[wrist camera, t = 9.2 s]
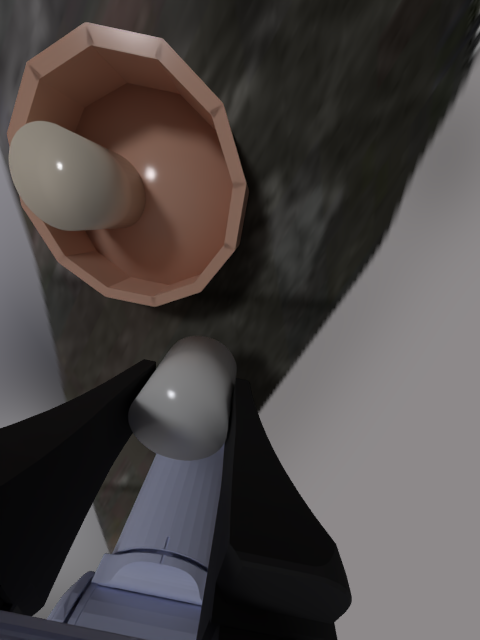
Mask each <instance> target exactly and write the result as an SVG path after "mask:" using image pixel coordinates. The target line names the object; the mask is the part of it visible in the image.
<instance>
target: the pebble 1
mask: <svg viewBox="0 0 480 640" xmlns="http://www.w3.org/2000/svg"><path fill="white" fill-rule="evenodd" d="M9 166H10V172H11V176H12V179H13V182H14V185H15V187H16V189H17V191H18V193H19V195H20V197H21V198H22V200H23V201H24V203H25V204H26V205H27V206H28V208H29V209H30V210H31V211H32V212H33V213H34V214H35V215H36V216H37V217H38V218H40V219H41V220H42V221H44V222H45V223H47V224H49V225H50V226H53V227H55V228H57V229H61V230H66V231H79V230H99V229H119V228H127V227H130V226H132V225H133V224H135V223H136V222H137V221H138V220H139V219H140V217H141V216H142V214H143V211H144V208H145V201H146V197H145V189H144V185H143V182H142V179H141V177H140V175H139V173H138V172H137V170H136V169H135V167H134V166H133V165H132V164H131V163H130V162H129V161H128V160H127V159H126V158H124V157H123V156H121V155H119V154H117V153H115V152H113V151H111V150H109V149H107V148H105V147H103V146H101V145H99V144H96V143H94V142H92V141H90V140H88V139H86V138H84V137H82V136H80V135H78V134H76V133H73V132H71V131H69V130H67V129H65V128H63V127H61V126H59V125H57V124H54V123H51V122H46V121H34V122H30V123H27V124H25V125H24V126H22V127H21V128H20V129H19V130H18V131H17V132H16V134H15V135H14V137H13V139H12V141H11V145H10V149H9Z"/></svg>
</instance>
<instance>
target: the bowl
mask: <svg viewBox="0 0 480 640" xmlns="http://www.w3.org/2000/svg"><path fill="white" fill-rule="evenodd" d="M34 121H46V122H51V123H54V124H57V125H59V126H61V127H63V128H65V129H67V130H69V131H71V132H73V133H76V134H78V135H80V136H82V137H84V138H86V139H88V140H90V141H92V142H94V143H96V144H99V145H101V146H103V147H105V148H107V149H109V150H111V151H113V152H115V153H117V154H119V155H121V156H123V157H124V158H126V159H127V160H128V161H129V162H130V163H131V164H132V165H133V166H134V167H135V169H136V170H137V172H138V173H139V175H140V177H141V179H142V182H143V185H144V189H145V197H146V201H145V208H144V211H143V214H142V216H141V217H140V219H139V220H138V221H137V222H136V223H135V224H133V225H132V226H130V227H127V228H119V229H99V230H79V231H66V230H61V229H57V228H55V227H53V226H50V225H49V224H47V223H45V222H44V221H42V220H41V219H40V218H38V217H37V216H36V215H35V214H34V213H33V212H32V211H31V210H30V209H29V208H28V206H27V205H26V204H25V203H24V201H23V200H22V198H21V197H20V200H21V205H22V207H23V209H24V210H25V212H26V213H27V215H28V216H29V218H30V219H31V221H32V223H33V224H34V226H35V227H36V229H37V230H38V232H39V233H40V235H41V236H42V238H43V239H44V241H45V243H46V244H47V246H48V247H49V249H50V250H51V252H52V253H53V255H54V256H55V258H56V260H57V261H58V262H59V263H60V264H61V265H63V266H64V267H65V268H67V269H68V270H70V271H71V272H72V273H74V274H75V275H76V276H78V277H79V278H81V279H82V280H83V281H85V282H86V283H87V284H89V285H90V286H92V287H93V288H94V289H96V290H97V291H98V292H100V293H101V294H103V295H104V296H105V297H110V298H115V299H119V300H124V301H129V302H134V303H139V304H144V305H148V306H153V307H156V306H159V305H162V304H165V303H169V302H172V301H175V300H178V299H181V298H184V297H187V296H190V295H193V294H196V293H199V292H201V291H202V290H203V289H204V288H205V286H206V285H207V284H208V283H209V281H210V280H211V279H212V278H213V277H214V275H215V274H216V273H217V272H218V271H219V269H220V268H221V267H222V266H223V264H224V263H225V262H226V261H227V260H228V258H229V257H230V256H231V255H232V254H233V252H234V251H235V250H236V249H237V247H238V246H239V245H240V240H241V235H242V229H243V224H244V218H245V212H246V207H247V201H248V196H249V189H248V186H247V182H246V179H245V175H244V172H243V168H242V165H241V161H240V158H239V155H238V151H237V148H236V144H235V141H234V137H233V134H232V130H231V127H230V124H229V121H228V117H227V114H226V111H225V108H224V104H223V103H222V102H221V101H220V100H219V98H218V97H217V96H216V95H215V94H214V93H213V92H212V91H211V90H210V89H209V88H208V87H207V86H206V85H205V83H204V82H203V81H202V80H201V79H200V78H199V77H198V76H197V75H196V74H195V73H194V72H193V71H192V69H191V68H190V67H189V66H188V65H187V64H186V63H185V62H184V61H183V60H182V59H181V58H180V57H179V55H178V54H177V53H176V52H175V51H174V50H173V49H172V48H171V47H170V46H169V45H168V44H167V43H166V42H165V40H164V39H163V38H158V37H153V36H149V35H144V34H139V33H135V32H130V31H125V30H120V29H116V28H111V27H106V26H102V25H97V24H92V23H88V22H85V23H83V24H82V25H80V26H79V27H77V28H76V29H75V30H73V31H72V32H70V33H69V34H67V35H66V36H64V37H63V38H61V39H60V40H58V41H57V42H56V43H54V44H53V45H51V46H50V47H48V48H47V49H45V50H44V51H42V52H41V53H39V54H38V55H37V56H35V57H34V58H32V59H31V60H29V61H28V62H27V63H26V67H25V71H24V74H23V78H22V81H21V85H20V88H19V92H18V96H17V99H16V103H15V106H14V110H13V114H12V117H11V121H10V124H9V128H8V131H7V136H8V141H9V146H10V145H11V141H12V139H13V137H14V135H15V134H16V132H17V131H18V130H19V129H20V128H21V127H22V126H24V125H25V124H27V123H30V122H34Z"/></svg>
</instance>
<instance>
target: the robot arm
mask: <svg viewBox="0 0 480 640" xmlns="http://www.w3.org/2000/svg"><path fill="white" fill-rule="evenodd" d="M155 370H156V362H155V361H150V360H145V359H144V360H142V361H140V362H139V363H137V364H135V365H134V366H132V367H130V368H129V369H127V370H125V371H124V372H122V373H120V374H119V375H117V376H115V377H114V378H112V379H110V380H108V381H107V382H105V383H103V384H101V385H99V386H98V387H96V388H94V389H92V390H90V391H88V392H86V393H85V394H83V395H81V396H79V397H77V398H75V399H72V400H70V401H68V402H66V403H64V404H62V405H59V406H57V407H55V408H53V409H50V410H48V411H46V412H43V413H40V414H38V415H35V416H33V417H30V418H28V419H25V420H23V421H20V422H18V423H15V424H12V425H9V426H7V427H3V428H0V640H337V635H336V631H335V625H334V622H335V621H336V620H337V619H338V618H339V617H340V616H342V615H343V614H344V613H345V612H346V610H347V609H348V608H349V606H350V604H351V601H352V597H351V592H350V588H349V584H348V580H347V576H346V573H345V570H344V567H343V564H342V561H341V558H340V555H339V552H338V549H337V546H336V543H335V542H334V541H333V540H332V538H331V537H330V536H329V534H328V533H327V532H326V530H325V529H324V528H323V526H322V525H321V524H320V522H319V521H318V520H317V519H316V517H315V516H314V515H313V513H312V512H311V510H310V509H309V507H308V506H307V504H306V503H305V501H304V500H303V498H302V497H301V496H300V494H299V492H298V491H297V490H296V488H295V486H294V484H293V483H292V481H291V480H290V478H289V476H288V475H287V473H286V472H285V470H284V468H283V466H282V465H281V463H280V461H279V459H278V457H277V455H276V454H275V452H274V450H273V448H272V446H271V444H270V441H269V439H268V437H267V435H266V433H265V430H264V428H263V426H262V423H261V421H260V418H259V415H258V412H257V409H256V406H255V403H254V400H253V396H252V392H251V388H250V383H249V381H247V380H242V379H237V378H236V381H235V385H234V390H233V397H232V403H231V411H230V418H229V424H228V431H227V437H226V440H225V443H224V444H223V446H222V447H221V448H220V450H218V451H217V452H216V453H215V454H213V455H211V456H209V457H206V458H203V459H199V460H192V461H185V460H176V459H171V458H168V457H165V456H162V455H160V454H157V453H156V456H155V458H154V461H153V463H152V465H151V467H150V470H149V472H148V474H147V477H146V479H145V481H144V483H143V486H142V488H141V490H140V492H139V495H138V497H137V499H136V501H135V504H134V506H133V508H132V510H131V513H130V515H129V517H128V520H127V522H126V524H125V526H124V529H123V531H122V533H121V535H120V538H119V540H118V542H117V544H116V547H115V549H114V551H113V553H112V554H108V553H105V554H104V555H103V557H102V560H101V562H100V564H99V566H98V568H97V570H96V572H93V571H89V572H87V573H85V574H84V575H83V576H82V577H81V578H80V579H79V580H78V581H77V582H76V583H75V584H73V585H72V586H71V587H70V588H69V589H68V590H67V591H66V592H65V593H64V595H63V596H62V597H61V599H60V600H59V601H58V603H57V604H56V606H55V607H54V609H53V610H52V612H51V613H50V615H49V616H48V618H47V619H42V618H37V617H32V616H33V615H34V614H35V613H37V612H38V611H39V610H40V609H41V608H42V607H43V606H44V605H45V602H46V600H47V598H48V596H49V593H50V591H51V589H52V587H53V585H54V582H55V580H56V578H57V576H58V574H59V572H60V569H61V567H62V565H63V563H64V561H65V558H66V556H67V554H68V552H69V550H70V548H71V546H72V544H73V542H74V540H75V537H76V535H77V533H78V531H79V529H80V527H81V525H82V523H83V521H84V519H85V517H86V515H87V513H88V511H89V509H90V507H91V505H92V503H93V501H94V499H95V497H96V495H97V493H98V491H99V489H100V487H101V485H102V484H103V482H104V480H105V478H106V476H107V474H108V472H109V470H110V468H111V467H112V465H113V463H114V461H115V460H116V458H117V456H118V455H119V453H120V452H121V450H122V449H123V447H124V445H125V444H126V442H127V441H128V439H129V438H130V436H131V435H132V433H133V432H132V430H131V428H130V425H129V421H128V412H129V408H130V406H131V404H132V403H133V401H134V400H135V398H136V397H137V395H138V394H139V393H140V391H141V390H142V388H143V387H144V386H145V384H146V383H147V381H148V380H149V378H150V377H151V376H152V374H153V373H154V371H155Z"/></svg>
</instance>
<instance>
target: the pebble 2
mask: <svg viewBox="0 0 480 640" xmlns="http://www.w3.org/2000/svg"><path fill="white" fill-rule="evenodd" d="M236 372H237V366H236V362H235V359H234V357H233V355H232V353H231V352H230V351H229V350H228V348H226V347H225V346H224V345H223V344H221V343H220V342H218V341H216V340H214V339H212V338H208V337H204V336H190V337H186V338H183V339H181V340H179V341H178V342H176V343H175V344H174V345H173V346H172V347H171V349H170V350H169V352H168V353H167V354H166V356H165V357H164V359H163V360H162V361H161V363H160V364H159V366H158V367H157V369H156V370H155V371H154V373H153V374H152V376H151V377H150V378H149V380H148V381H147V383H146V384H145V386H144V387H143V388H142V390H141V391H140V393H139V394H138V395H137V397H136V398H135V400H134V401H133V403H132V404H131V406H130V408H129V412H128V421H129V425H130V428H131V430H132V432H133V433H134V435H135V436H136V438H137V439H138V440H139V441H140V442H141V443H142V444H143V445H145V446H146V447H147V448H149V449H150V450H152V451H153V452H155V453H157V454H160V455H162V456H165V457H168V458H171V459H176V460H185V461H192V460H199V459H203V458H206V457H209V456H211V455H213V454H215V453H216V452H217V451H218V450H220V448H221V447H222V446H223V444H224V443H225V440H226V437H227V431H228V424H229V418H230V411H231V403H232V397H233V390H234V385H235V379H236Z"/></svg>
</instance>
